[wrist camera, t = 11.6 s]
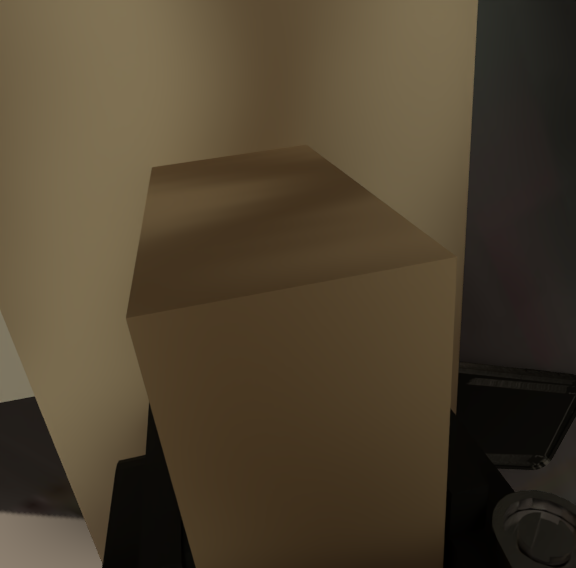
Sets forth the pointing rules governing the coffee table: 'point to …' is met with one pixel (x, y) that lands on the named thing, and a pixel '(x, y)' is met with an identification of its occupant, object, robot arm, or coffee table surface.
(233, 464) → the grout float
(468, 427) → the phone
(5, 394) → the tile
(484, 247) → the coffee table surface
